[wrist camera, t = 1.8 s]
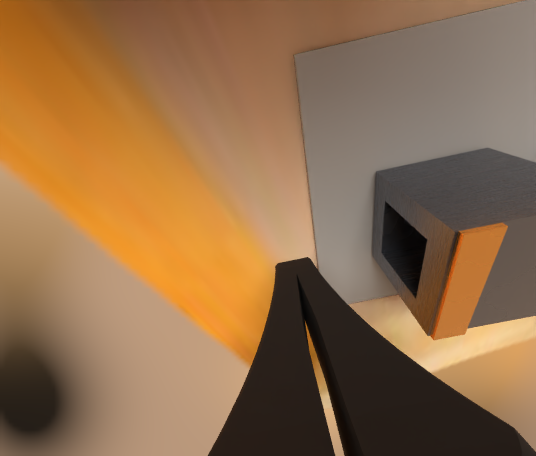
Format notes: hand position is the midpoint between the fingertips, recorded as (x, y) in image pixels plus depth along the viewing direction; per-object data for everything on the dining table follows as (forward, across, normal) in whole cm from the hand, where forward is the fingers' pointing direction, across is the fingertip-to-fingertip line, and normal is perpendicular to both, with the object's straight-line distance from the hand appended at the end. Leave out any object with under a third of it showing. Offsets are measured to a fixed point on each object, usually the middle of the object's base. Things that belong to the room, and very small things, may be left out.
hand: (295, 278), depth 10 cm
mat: (+3, -11, 0) cm, 11 cm away
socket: (+3, -7, 0) cm, 8 cm away
